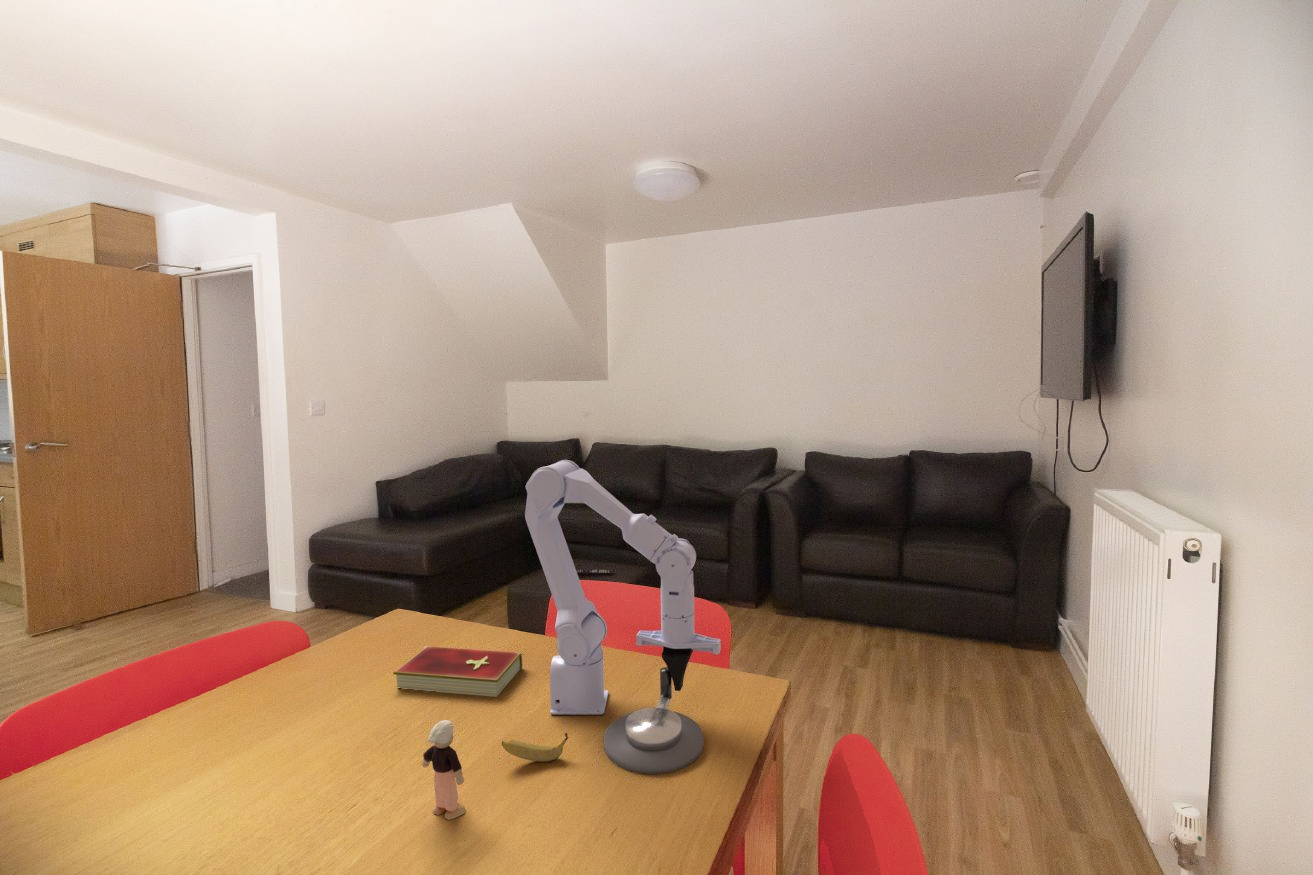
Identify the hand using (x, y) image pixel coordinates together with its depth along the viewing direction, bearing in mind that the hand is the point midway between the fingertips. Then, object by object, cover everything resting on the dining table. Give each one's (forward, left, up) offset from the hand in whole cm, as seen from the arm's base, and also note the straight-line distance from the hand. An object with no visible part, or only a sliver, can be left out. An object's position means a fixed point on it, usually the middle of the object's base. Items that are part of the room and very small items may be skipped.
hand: (678, 688), depth 109 cm
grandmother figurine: (-32, -24, -5) cm, 41 cm away
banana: (-22, -13, -5) cm, 26 cm away
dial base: (-4, -8, -5) cm, 10 cm away
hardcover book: (-43, +13, -6) cm, 45 cm away
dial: (-4, -6, -3) cm, 7 cm away
